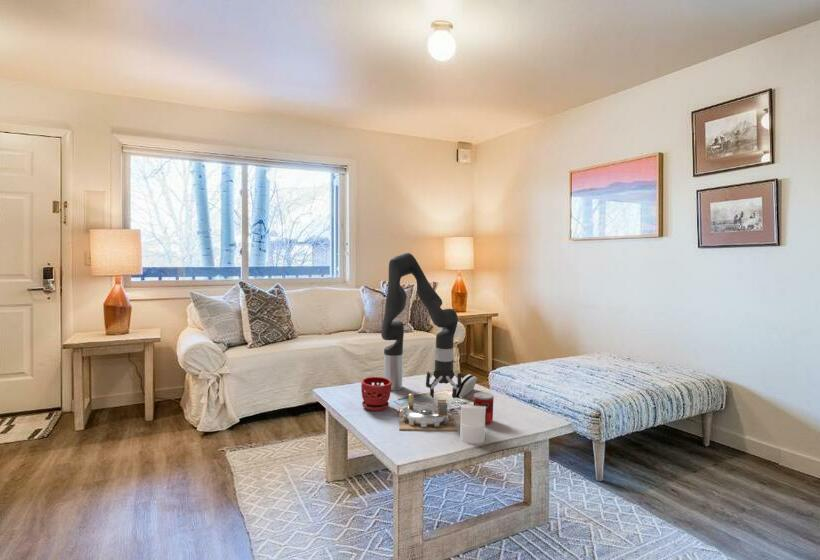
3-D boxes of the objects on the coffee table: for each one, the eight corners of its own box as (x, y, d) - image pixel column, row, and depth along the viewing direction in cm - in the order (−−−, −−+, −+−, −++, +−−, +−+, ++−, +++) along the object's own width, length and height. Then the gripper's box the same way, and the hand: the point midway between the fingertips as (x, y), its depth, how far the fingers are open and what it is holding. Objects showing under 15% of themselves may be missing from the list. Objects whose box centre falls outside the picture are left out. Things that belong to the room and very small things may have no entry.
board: (399, 410, 202) (399, 408, 202) (450, 410, 203) (450, 408, 203) (399, 430, 180) (399, 428, 180) (456, 430, 181) (456, 428, 181)
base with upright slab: (459, 442, 170) (460, 410, 170) (461, 432, 179) (461, 401, 178) (484, 444, 169) (485, 412, 168) (484, 434, 178) (485, 403, 177)
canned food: (469, 420, 192) (469, 394, 191) (482, 416, 197) (483, 390, 196) (483, 426, 186) (484, 399, 185) (496, 421, 191) (497, 395, 190)
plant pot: (359, 412, 199) (359, 384, 198) (363, 402, 212) (363, 375, 211) (390, 413, 198) (390, 385, 197) (392, 402, 211) (392, 376, 210)
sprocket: (390, 418, 190) (391, 399, 189) (420, 405, 206) (421, 387, 205) (432, 431, 177) (432, 410, 177) (460, 416, 193) (461, 397, 193)
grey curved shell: (464, 387, 236) (471, 370, 234) (472, 392, 234) (479, 374, 232) (450, 396, 222) (457, 378, 219) (459, 401, 220) (466, 382, 217)
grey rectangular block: (437, 409, 194) (437, 399, 194) (445, 409, 194) (445, 399, 194) (438, 414, 188) (439, 404, 188) (447, 414, 189) (447, 404, 188)
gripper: (427, 360, 186) (426, 400, 187) (463, 360, 186) (461, 400, 188) (426, 355, 193) (425, 394, 195) (460, 356, 194) (459, 394, 195)
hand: (443, 397), depth 191 cm, fingers open, 8 cm apart
